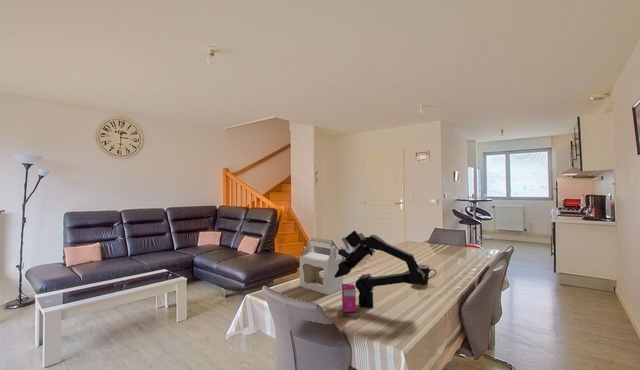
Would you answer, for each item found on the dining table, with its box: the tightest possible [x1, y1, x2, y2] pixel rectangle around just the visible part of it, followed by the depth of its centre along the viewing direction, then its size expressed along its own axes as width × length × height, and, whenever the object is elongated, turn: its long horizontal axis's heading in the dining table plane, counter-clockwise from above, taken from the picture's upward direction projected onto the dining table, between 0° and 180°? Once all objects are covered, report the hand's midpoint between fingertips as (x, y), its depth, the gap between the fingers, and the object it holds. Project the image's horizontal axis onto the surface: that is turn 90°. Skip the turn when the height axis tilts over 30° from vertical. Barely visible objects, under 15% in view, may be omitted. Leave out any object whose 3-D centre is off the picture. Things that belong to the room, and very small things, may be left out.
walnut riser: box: [337, 305, 360, 319], centre depth 137 cm, size 9×9×2 cm
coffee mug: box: [417, 263, 437, 286], centre depth 178 cm, size 12×9×10 cm
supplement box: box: [341, 283, 357, 313], centre depth 137 cm, size 6×6×12 cm
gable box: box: [299, 237, 344, 296], centre depth 172 cm, size 22×13×28 cm, turn 50°
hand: (337, 274), depth 152 cm, fingers open, 9 cm apart
